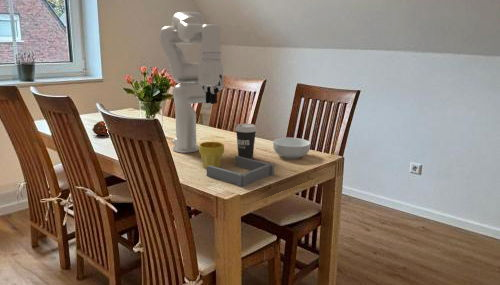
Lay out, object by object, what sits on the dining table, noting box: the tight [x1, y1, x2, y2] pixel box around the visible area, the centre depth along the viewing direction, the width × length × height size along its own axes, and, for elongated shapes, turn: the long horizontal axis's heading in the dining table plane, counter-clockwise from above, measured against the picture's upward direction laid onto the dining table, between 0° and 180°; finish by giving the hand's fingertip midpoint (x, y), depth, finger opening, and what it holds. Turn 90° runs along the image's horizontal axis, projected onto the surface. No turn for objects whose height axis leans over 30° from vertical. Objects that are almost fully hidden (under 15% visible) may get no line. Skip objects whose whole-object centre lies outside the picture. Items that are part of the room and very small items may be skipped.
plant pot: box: [198, 141, 225, 170], centre depth 183 cm, size 10×10×10 cm
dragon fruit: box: [91, 120, 109, 136], centre depth 235 cm, size 8×8×12 cm
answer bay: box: [206, 155, 275, 187], centre depth 174 cm, size 19×20×4 cm
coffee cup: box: [235, 123, 258, 160], centre depth 196 cm, size 10×10×15 cm
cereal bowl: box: [272, 137, 311, 160], centre depth 201 cm, size 17×17×7 cm
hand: (211, 102), depth 177 cm, fingers closed
